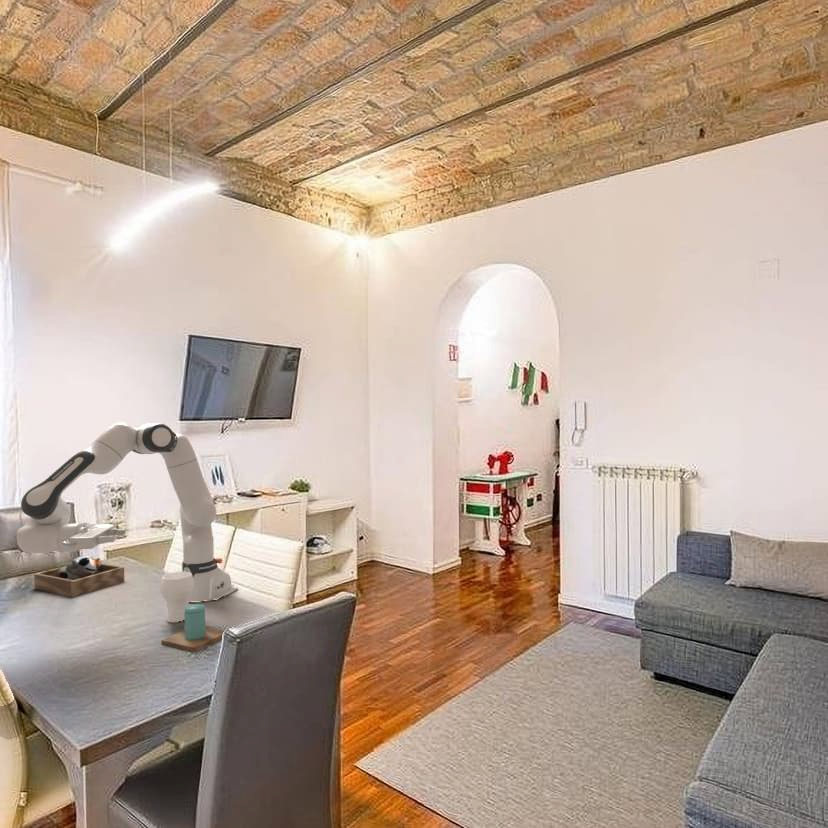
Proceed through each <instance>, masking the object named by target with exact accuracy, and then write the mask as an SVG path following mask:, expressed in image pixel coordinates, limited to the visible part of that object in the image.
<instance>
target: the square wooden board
mask: <svg viewBox="0 0 828 828" xmlns="http://www.w3.org/2000/svg"><path fill="white" fill-rule="evenodd" d="M224 631H225V630H222V629H220V628H219V629H217V628H215V627H214V628H213V627H208V626H206V635H205V636H204V637H202V638H200V639H193V640H189V639H185V629H184V630H181V631H179V632H177V633H174V634H171V635H170V636H168V637H166V638H162V639H160V642H161V645H163V646H167V647H168V646H169V647H173V648H176V649H182V650H184V651H190V652H193V653H195V652H197V651H199V650H201V649H203V648H206V647H208V646H209V645H211V644H214V643H216V642H218V641H220V640H222V639H223V638H222V634H223V632H224ZM221 638H222V639H221ZM219 639H220V640H219Z"/></svg>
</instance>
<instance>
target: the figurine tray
mask: <svg viewBox="0 0 828 828" xmlns="http://www.w3.org/2000/svg"><path fill="white" fill-rule="evenodd" d="M66 566H67V565H64V566H61V567H60V566H59V567H57V568H53V569H50V570H45V571H40V572H37V573H34V574H33V576H34V577H33V578H34V580H33V581H34V588H33V589H35V590H38V589H39V590H38V591H42V590H44V591H43V592H47V591H48V593H52V592H53V594H58V595H62V596H66V595H67V597H71V596H72V597H71V598H75V597H77V596H81V595H84V594H88V593H91V592H95V591H97V590H101V589H103V588H107V587H110V585H111V586H113V584H114V585H117V584H120V583H123V582H122V581H124V582H125V566H119V565H115V564H114V565H113V564H107V563H102V562H101V564H100V567H99V568H98V569H97V570H96V571H95V573H94V574H93V575H91V576H88V577H84V578H81V579H77V580H69V579H64V578H59V577H55V576H54V575H55V574H56V573H57V571H58V570H59V569H61V568H63V567H66ZM119 582H120V583H119ZM116 583H117V584H116ZM100 588H101V589H100Z"/></svg>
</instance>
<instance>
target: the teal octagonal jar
mask: <svg viewBox="0 0 828 828" xmlns="http://www.w3.org/2000/svg"><path fill="white" fill-rule="evenodd" d="M184 615H185V621H184V630H185V639H189V640H193V639H200V638H202V637H204V636H205V635H206V627H207V626H206V605H205V604H202V603H195V604H193V603H192V604H188V606H187V607H185V613H184Z"/></svg>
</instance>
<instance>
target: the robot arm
mask: <svg viewBox="0 0 828 828" xmlns="http://www.w3.org/2000/svg"><path fill="white" fill-rule="evenodd" d="M189 440H190V439H189V438H188V437H187V436H186V435H185V434H181V433H175V432H174V431H173V430H172V429H171V428H170V426H168V425H167V424H165V423H161V422H160V423H159V422H154V423H153V422H151V423H150V422H149V423H144V424H142V425H138V426H135V427H132V426H131V425H129V424H127V423H125V422H116V423H113V424H112V425H111V426H109V427H108V428H106V430H104V431H103V432H102V433H100V434H99V436H98V437H97V438H96V439H95V440H94V441H93V442H92V443H91V444H90V445H89V446H87V448H85V449H84V450H81V451H79V452H77V453H76V454H74V455H73V456H71V457H70V458H69V459H68V460H67V461H65V462H64V463H63V464H62V465H61V466H60V467H58V468H57V469H56V470H55V471H54V472H53V473H51V474H50V475H49V476H48V477H47V478H46V479H44V481H41V482H40V483H38V484H37V485H35V486H33V487H32V488H30V489H29V490H28V491H26V493H25V494H23V496H22V499H21V502H20V506H21V507H20V508H21V510H22V512H23V513H24V514H25V515H27V516H29V517H30V519H29V520H28V522H26V523H25V524H24V525H23V526H22V527H19V528H18V529H17V532H16V535H15V541H16V544H17V547H18V549H20V550H21V551H22V552H23V553H28V554H29V553H30V554H49V553H52V552H59V553H73V552H80V551H81V550H92V549H94V548H96V547H97V546H99V545H102V544H106V543H113V542H115V541H116V540H117V537H116V536H118V537H121V536H122V537H123V536H126V529H125V528H123V529H119V528H116V527H115V525H113V524H108V523H107V524H106V523H105V524H104V523H93V524H90V522H81V523H80V522H79V523H70V521H71V518H72V514H73V513H72V509H71V507H70V506H69V504H68V503H67V502H66V501H65V500H64V499H63V498H62V494H63V493H64V492H65V491H66V490H67V489H68V488H69V487H70V486H71V485H72V484H73V483H74V482H75V481H76V480H78V479H79V478H80V477H81V476H83V475H85V474H94V475H105V474H108V473H111V472H112V471H113V470H115V468H117V466H119V465H120V464H121V462H122V461H123V460H125V458H126V456H128V454H129V453H131V452H133V453H135V454H136V453H137V454H140V455H154V454H157V453H158V454H160V456H161V457H162V458H163V459H164V463H165V466H166V470H167V473H168V475H169V478H170V482H171V484H172V486H173V490H174V492H175V493H176V496H177V498H178V500H179V503H180V505H179V514H180V528H181V536H182V552H183V553H182V555H183V556H182V557H183V559H182V562H181V563H182V564H181V570H182V571H181V572H190V573H192V576H193V580H194V588H193V592H192V595H191V597H190V599H189V602H191V601H204V600H214V599H218V598H220V597H222V596H224V595H226V596H228V595H230V594H231V593H233V592H235V591H237V590H238V588H239V587H238V586H237V585H235V584H233V583H232V579H231V578H232V577H231V575H230V574H229V573H228V572H226V571H225V570H224V569H222V568H220V567H219V566H218V564H220V565H221V564H222V562H223V558H222V557H221V558H219V557H216V558H215V554H214V553H215V550H214V549H215V547H214V546H215V545H214V541H215V539H214V534H213V529H212V524H213V522H214V521H215V520H216V518H217V508H216V505H215V502H214V500H213V497H212V495H211V492H210V490H209V487H208V485H207V483H206V480H205V479H204V476H203V472H202V471H201V467H200V464H199V462H198V458H197V455H196V453H195V450H194V447H193V445H192V444H191V442H190V441H189ZM224 597H225V596H224Z"/></svg>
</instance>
